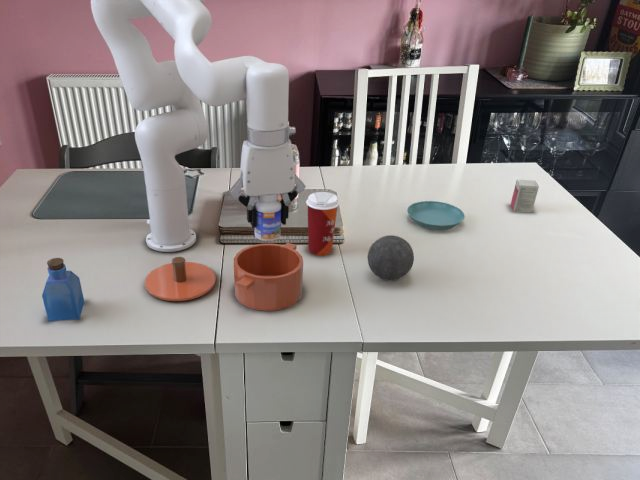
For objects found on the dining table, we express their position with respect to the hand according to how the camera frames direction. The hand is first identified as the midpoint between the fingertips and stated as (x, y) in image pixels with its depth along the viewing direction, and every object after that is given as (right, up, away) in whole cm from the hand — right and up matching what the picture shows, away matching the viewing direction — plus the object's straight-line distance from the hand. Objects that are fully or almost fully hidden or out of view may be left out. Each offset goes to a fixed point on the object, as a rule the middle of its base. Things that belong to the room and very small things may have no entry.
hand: (267, 222), depth 115 cm
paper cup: (+13, -4, +25) cm, 28 cm away
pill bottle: (0, -3, +2) cm, 3 cm away
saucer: (+45, +4, +37) cm, 59 cm away
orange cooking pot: (0, -14, +9) cm, 17 cm away
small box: (+71, +9, +43) cm, 84 cm away
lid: (-19, -12, +12) cm, 26 cm away
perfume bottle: (-42, -18, +4) cm, 46 cm away
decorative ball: (+28, -11, +14) cm, 33 cm away
